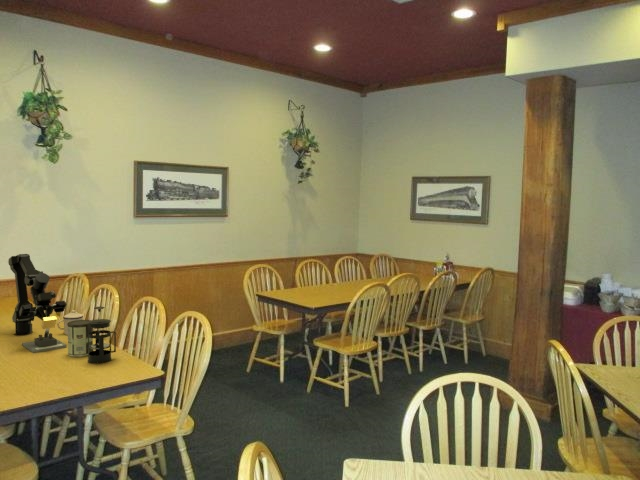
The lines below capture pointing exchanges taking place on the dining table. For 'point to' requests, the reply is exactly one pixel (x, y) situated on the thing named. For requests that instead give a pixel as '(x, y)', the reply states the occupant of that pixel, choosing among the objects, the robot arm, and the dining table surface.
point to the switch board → (32, 347)
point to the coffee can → (79, 338)
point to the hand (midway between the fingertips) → (47, 323)
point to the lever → (48, 324)
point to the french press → (100, 341)
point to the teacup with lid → (69, 320)
